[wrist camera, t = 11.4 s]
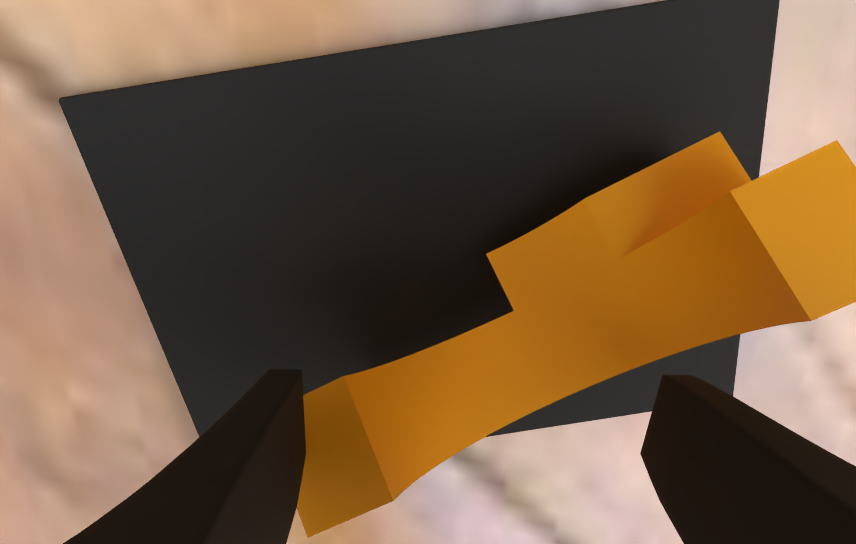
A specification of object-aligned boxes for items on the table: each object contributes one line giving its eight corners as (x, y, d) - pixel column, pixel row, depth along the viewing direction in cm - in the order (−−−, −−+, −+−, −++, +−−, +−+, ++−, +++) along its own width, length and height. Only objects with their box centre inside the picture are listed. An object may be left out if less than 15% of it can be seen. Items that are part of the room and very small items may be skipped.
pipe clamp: (683, 173, 15) (780, 60, 9) (760, 300, 14) (927, 270, 8) (347, 338, 17) (236, 337, 11) (397, 460, 16) (308, 537, 10)
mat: (223, 463, 20) (216, 479, 19) (73, 96, 14) (56, 98, 14) (721, 386, 20) (733, 399, 19) (763, -15, 14) (783, -19, 14)
